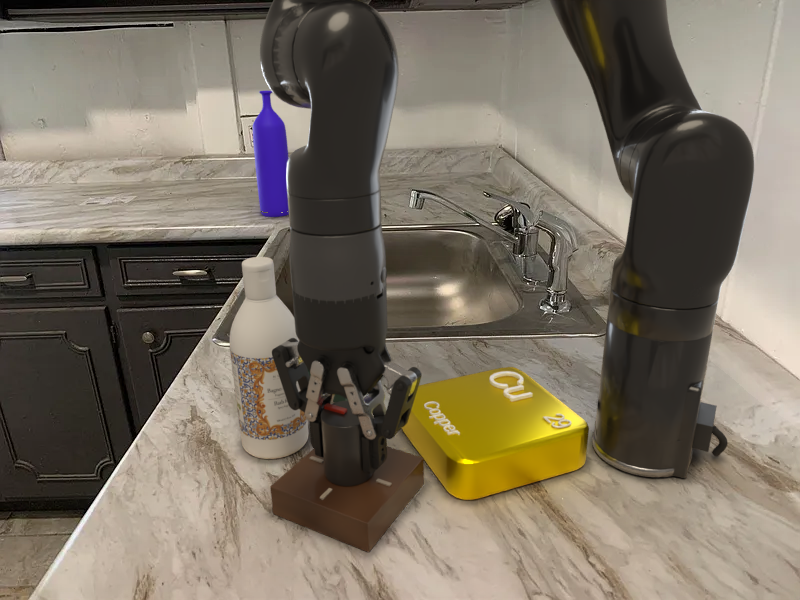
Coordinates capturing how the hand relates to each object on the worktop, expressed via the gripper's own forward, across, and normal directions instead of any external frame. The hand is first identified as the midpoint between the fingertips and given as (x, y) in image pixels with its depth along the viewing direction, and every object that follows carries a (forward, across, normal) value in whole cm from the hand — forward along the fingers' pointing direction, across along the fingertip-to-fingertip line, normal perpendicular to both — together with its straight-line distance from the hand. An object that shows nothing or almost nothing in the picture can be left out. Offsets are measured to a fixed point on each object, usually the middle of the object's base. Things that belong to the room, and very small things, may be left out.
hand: (349, 459), depth 56 cm
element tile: (+5, +8, +14) cm, 17 cm away
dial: (+1, 0, 0) cm, 1 cm away
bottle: (+5, -78, +85) cm, 115 cm away
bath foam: (+5, -12, +4) cm, 13 cm away
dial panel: (+4, 0, 0) cm, 4 cm away
